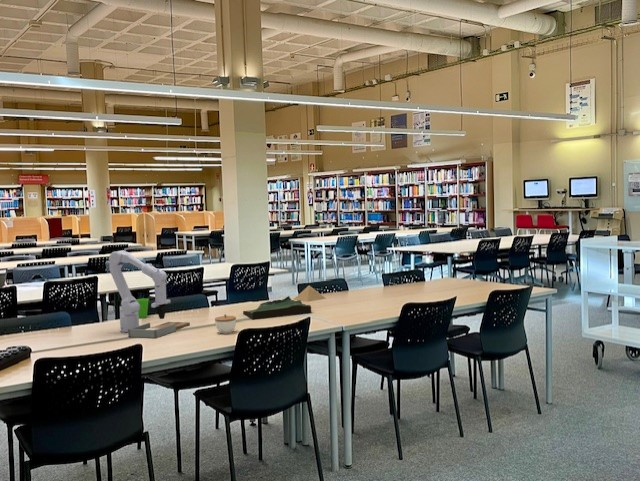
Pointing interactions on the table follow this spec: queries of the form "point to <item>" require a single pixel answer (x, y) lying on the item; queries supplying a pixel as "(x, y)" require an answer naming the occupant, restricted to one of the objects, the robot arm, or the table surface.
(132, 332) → the grey box
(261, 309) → the topographic model
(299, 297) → the model pyramid
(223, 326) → the lidded jar
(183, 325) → the walnut board
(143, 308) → the cup
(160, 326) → the terracotta tile
